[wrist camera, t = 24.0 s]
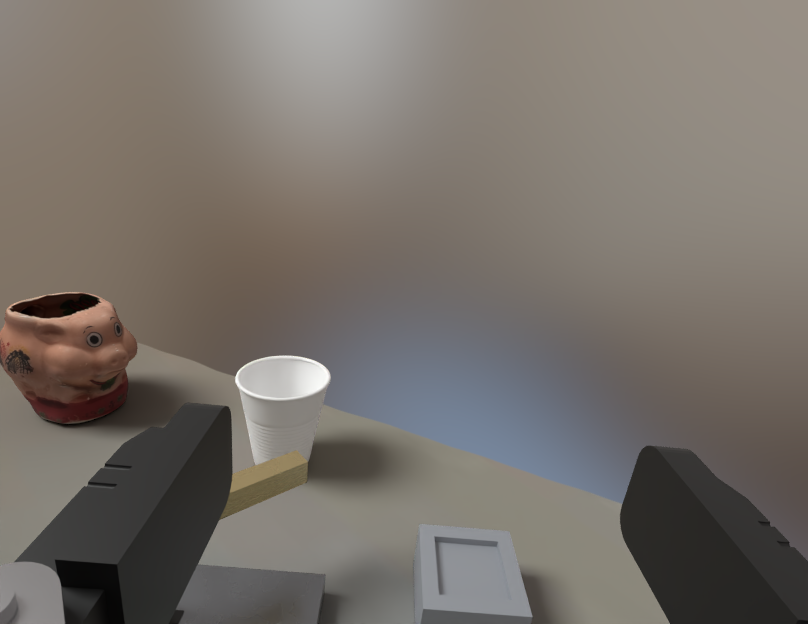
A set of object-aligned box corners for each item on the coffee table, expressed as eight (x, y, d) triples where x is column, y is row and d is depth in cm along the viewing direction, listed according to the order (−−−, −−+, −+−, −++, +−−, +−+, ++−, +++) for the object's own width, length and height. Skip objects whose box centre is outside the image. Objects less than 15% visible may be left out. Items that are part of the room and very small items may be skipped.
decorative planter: (-40, 406, 57) (-66, 298, 53) (56, 366, 68) (41, 273, 64) (92, 449, 53) (76, 335, 48) (172, 399, 64) (165, 301, 59)
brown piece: (138, 641, 32) (126, 538, 29) (128, 610, 34) (116, 510, 31) (306, 551, 40) (311, 464, 37) (290, 530, 42) (293, 445, 39)
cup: (336, 479, 52) (343, 392, 49) (243, 499, 48) (242, 405, 44) (313, 429, 61) (317, 351, 57) (231, 442, 56) (229, 359, 53)
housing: (520, 660, 36) (532, 617, 34) (415, 653, 35) (423, 608, 34) (500, 570, 43) (509, 531, 42) (413, 563, 43) (419, 523, 41)
